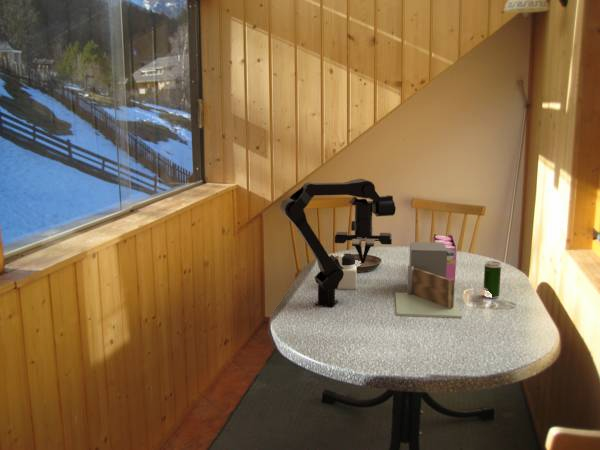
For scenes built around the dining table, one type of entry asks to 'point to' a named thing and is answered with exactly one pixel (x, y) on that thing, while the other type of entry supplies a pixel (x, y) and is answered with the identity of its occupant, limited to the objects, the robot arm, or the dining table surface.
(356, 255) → the plant saucer
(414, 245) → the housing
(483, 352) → the dining table surface
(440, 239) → the gum box
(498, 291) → the beer can
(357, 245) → the robot arm
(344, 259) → the medicine bottle
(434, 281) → the brown wooden flat panel
